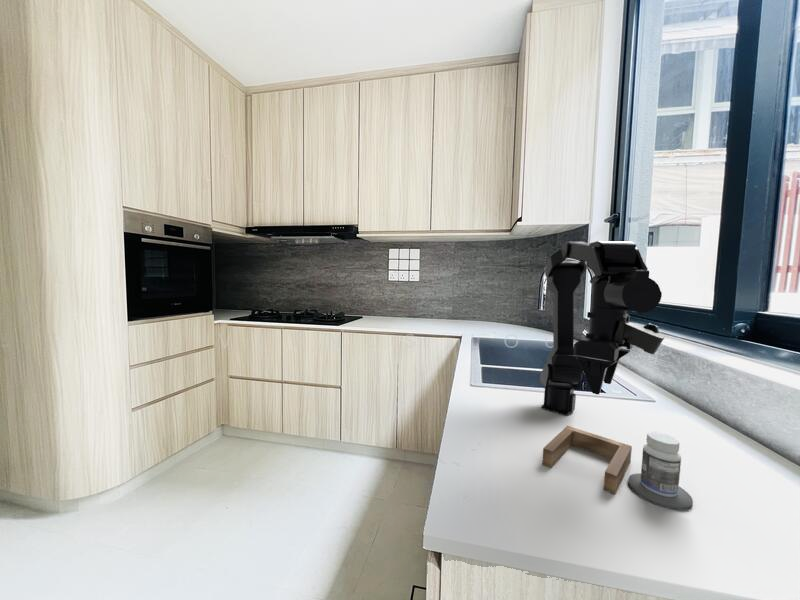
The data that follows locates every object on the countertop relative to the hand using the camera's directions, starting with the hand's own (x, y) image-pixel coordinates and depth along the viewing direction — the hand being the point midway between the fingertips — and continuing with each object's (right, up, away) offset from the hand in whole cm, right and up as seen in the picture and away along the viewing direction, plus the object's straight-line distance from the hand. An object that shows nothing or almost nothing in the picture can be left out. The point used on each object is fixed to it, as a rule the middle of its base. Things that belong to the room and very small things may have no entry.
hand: (601, 388), depth 62 cm
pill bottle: (+2, -13, -10) cm, 17 cm away
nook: (-4, -13, -3) cm, 14 cm away
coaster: (+2, -14, -10) cm, 17 cm away
